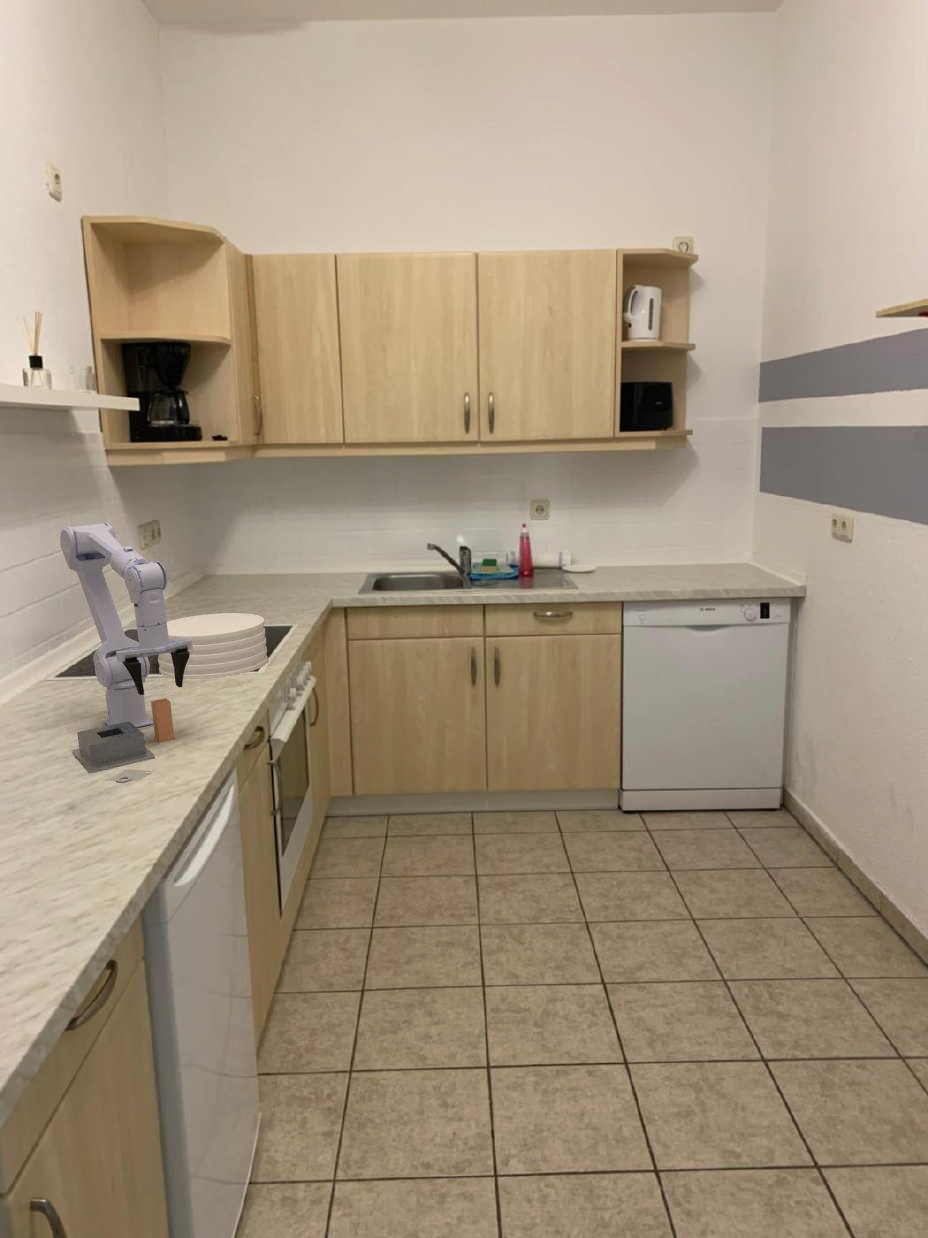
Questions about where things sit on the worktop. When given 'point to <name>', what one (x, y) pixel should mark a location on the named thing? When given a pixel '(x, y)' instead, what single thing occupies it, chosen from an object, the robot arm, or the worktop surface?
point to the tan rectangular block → (162, 720)
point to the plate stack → (218, 645)
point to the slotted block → (111, 747)
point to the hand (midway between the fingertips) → (160, 690)
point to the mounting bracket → (129, 775)
